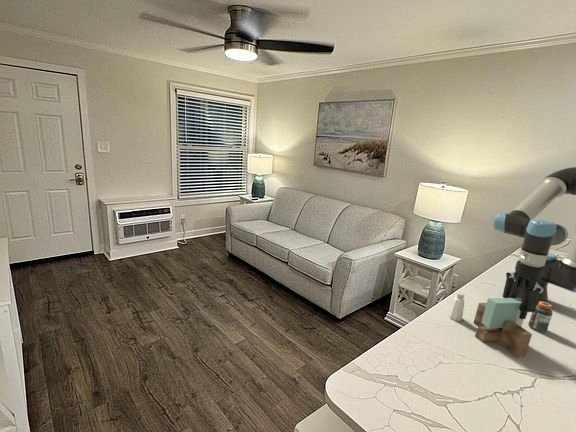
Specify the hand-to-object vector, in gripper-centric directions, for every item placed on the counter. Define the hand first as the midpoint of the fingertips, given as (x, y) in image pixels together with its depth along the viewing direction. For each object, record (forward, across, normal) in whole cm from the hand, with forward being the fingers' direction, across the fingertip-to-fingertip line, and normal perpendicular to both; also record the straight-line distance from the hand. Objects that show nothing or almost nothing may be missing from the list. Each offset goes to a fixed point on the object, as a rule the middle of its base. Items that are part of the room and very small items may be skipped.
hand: (512, 321), depth 115 cm
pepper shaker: (+7, -14, -11) cm, 19 cm away
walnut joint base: (+7, 0, -4) cm, 8 cm away
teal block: (+1, 0, -4) cm, 5 cm away
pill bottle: (+7, -5, +20) cm, 21 cm away
